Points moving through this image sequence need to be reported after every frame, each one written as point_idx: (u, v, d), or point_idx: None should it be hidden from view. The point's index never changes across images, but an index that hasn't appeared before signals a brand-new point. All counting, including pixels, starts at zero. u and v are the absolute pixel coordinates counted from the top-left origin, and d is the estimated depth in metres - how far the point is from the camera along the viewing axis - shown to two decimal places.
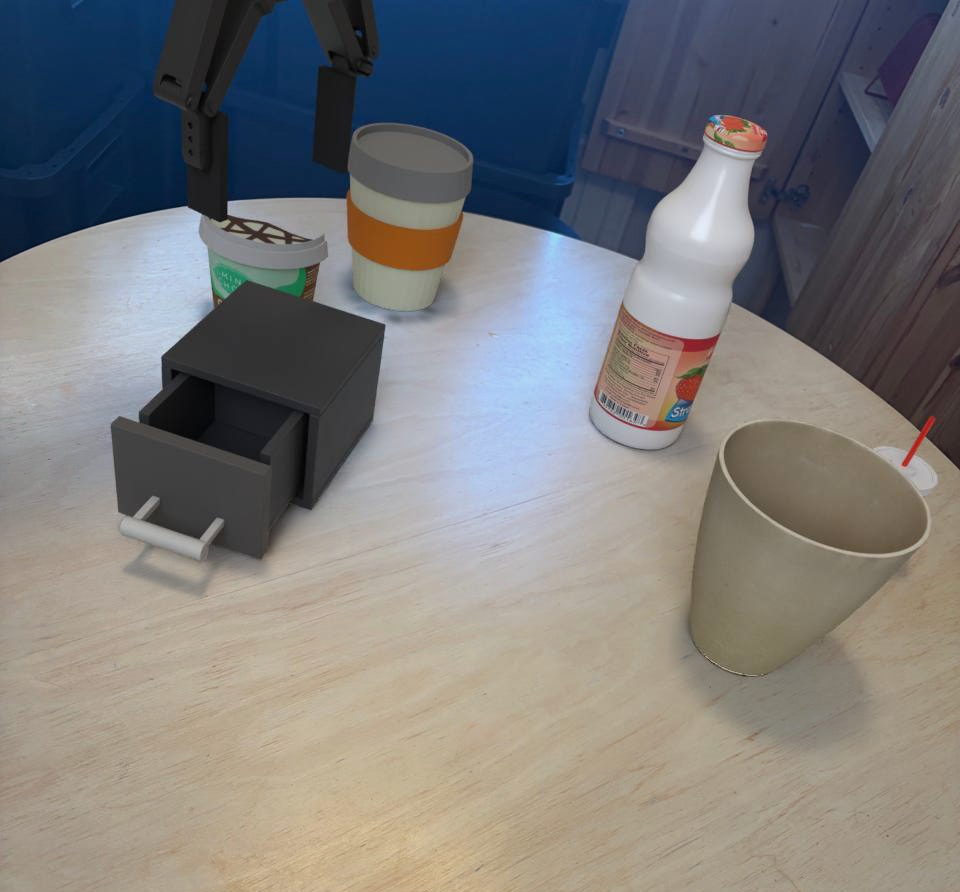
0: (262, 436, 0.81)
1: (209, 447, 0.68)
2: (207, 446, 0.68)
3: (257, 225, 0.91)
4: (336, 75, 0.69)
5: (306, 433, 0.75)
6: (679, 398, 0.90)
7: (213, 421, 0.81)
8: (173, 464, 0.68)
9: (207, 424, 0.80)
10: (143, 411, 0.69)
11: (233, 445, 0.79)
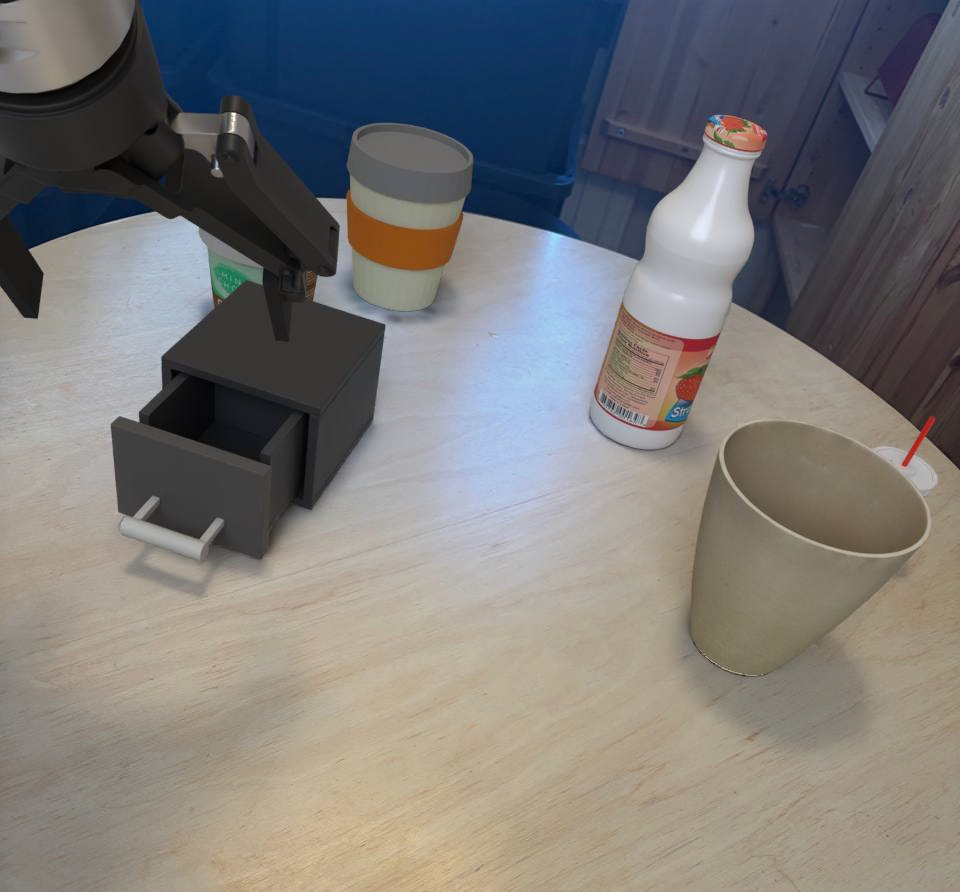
0: (262, 436, 0.81)
1: (209, 447, 0.68)
2: (207, 446, 0.68)
3: None
4: None
5: (306, 433, 0.75)
6: (679, 398, 0.90)
7: (213, 421, 0.81)
8: (173, 464, 0.68)
9: (207, 424, 0.80)
10: (143, 411, 0.69)
11: (233, 445, 0.79)
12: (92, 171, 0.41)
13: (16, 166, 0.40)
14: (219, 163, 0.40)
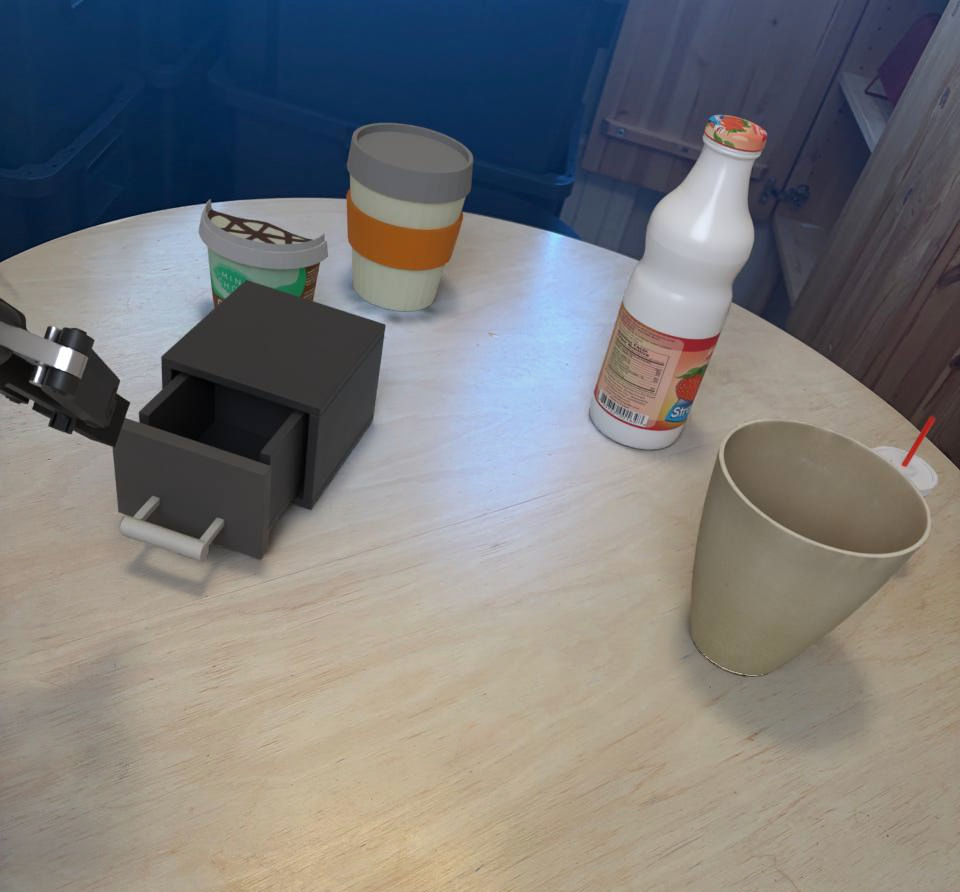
0: (262, 436, 0.81)
1: (209, 447, 0.68)
2: (207, 446, 0.68)
3: (257, 225, 0.91)
4: None
5: (306, 433, 0.75)
6: (679, 398, 0.90)
7: (213, 421, 0.81)
8: (173, 464, 0.68)
9: (207, 424, 0.80)
10: (143, 411, 0.69)
11: (233, 445, 0.79)
12: None
13: None
14: (44, 386, 0.39)
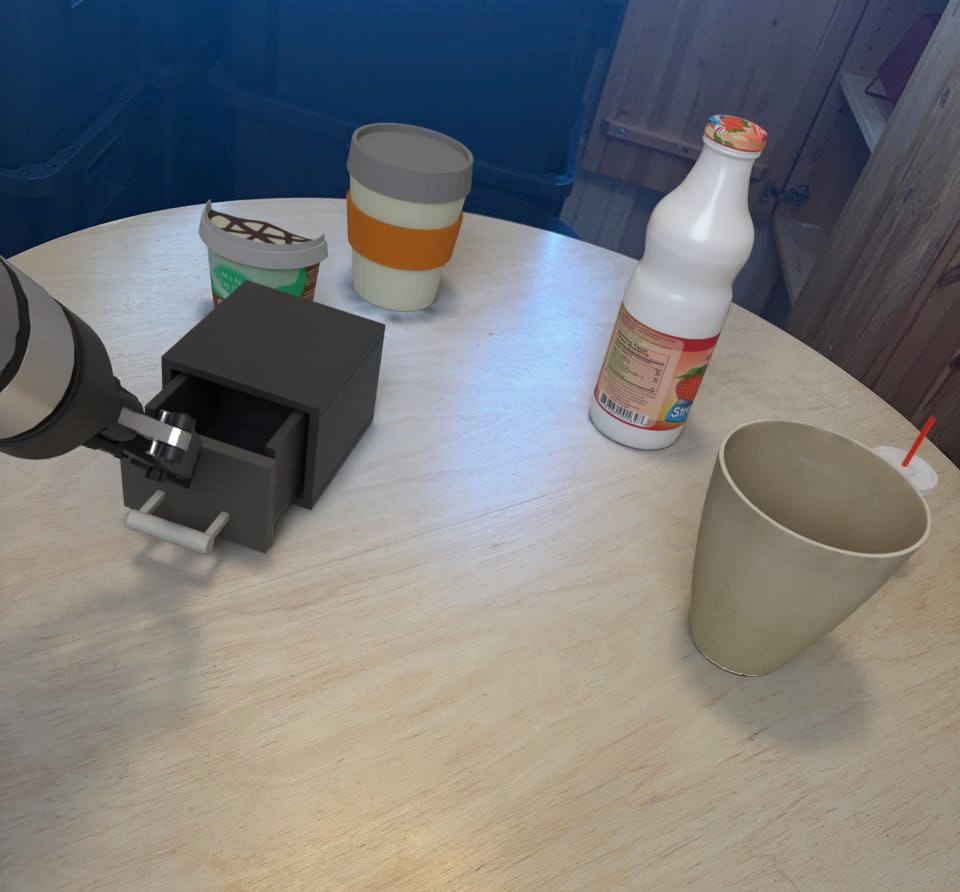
0: (266, 431, 0.81)
1: (214, 441, 0.68)
2: (212, 440, 0.68)
3: (257, 225, 0.91)
4: None
5: None
6: (679, 398, 0.90)
7: (217, 416, 0.81)
8: None
9: (212, 419, 0.80)
10: (149, 405, 0.70)
11: (237, 440, 0.80)
12: None
13: None
14: (158, 456, 0.51)
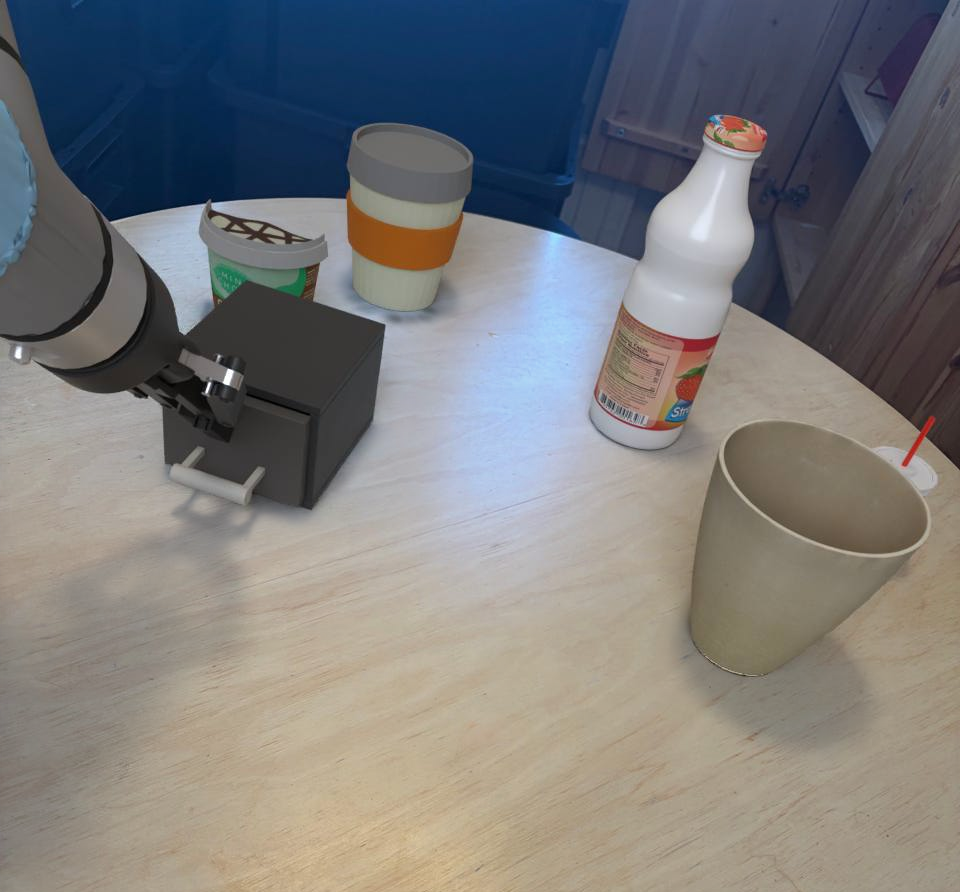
0: None
1: (252, 399, 0.73)
2: (251, 398, 0.73)
3: (257, 225, 0.91)
4: None
5: None
6: (679, 398, 0.90)
7: None
8: None
9: None
10: None
11: None
12: None
13: None
14: (213, 396, 0.56)
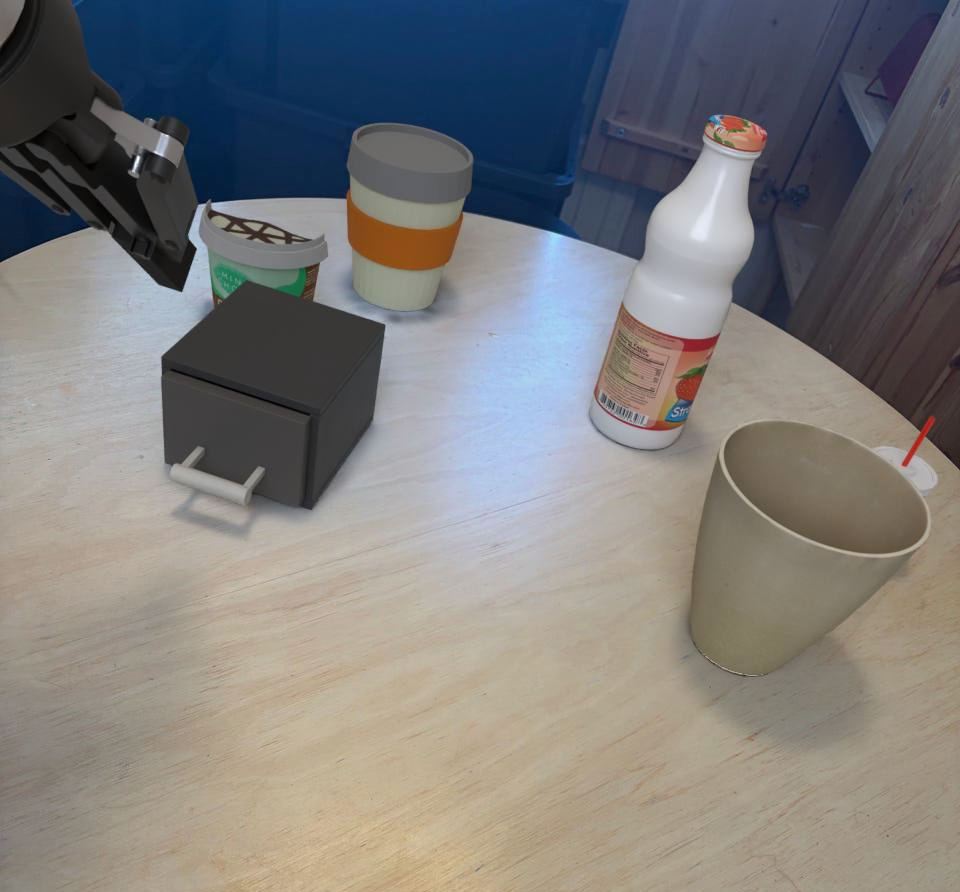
0: None
1: (252, 399, 0.73)
2: (251, 398, 0.73)
3: (257, 225, 0.91)
4: None
5: None
6: (679, 398, 0.90)
7: None
8: (219, 415, 0.73)
9: None
10: None
11: None
12: None
13: None
14: (143, 174, 0.41)
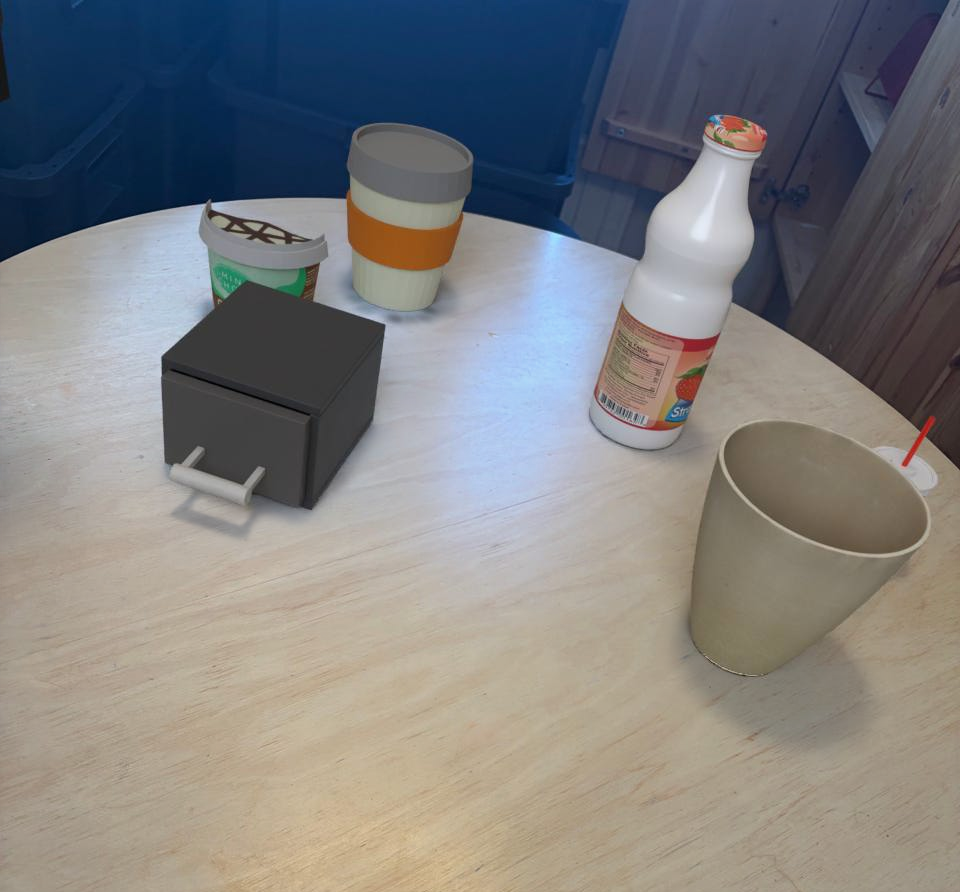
0: None
1: (252, 399, 0.73)
2: (251, 398, 0.73)
3: (257, 225, 0.91)
4: None
5: None
6: (679, 398, 0.90)
7: None
8: (219, 415, 0.73)
9: None
10: None
11: None
12: None
13: None
14: None
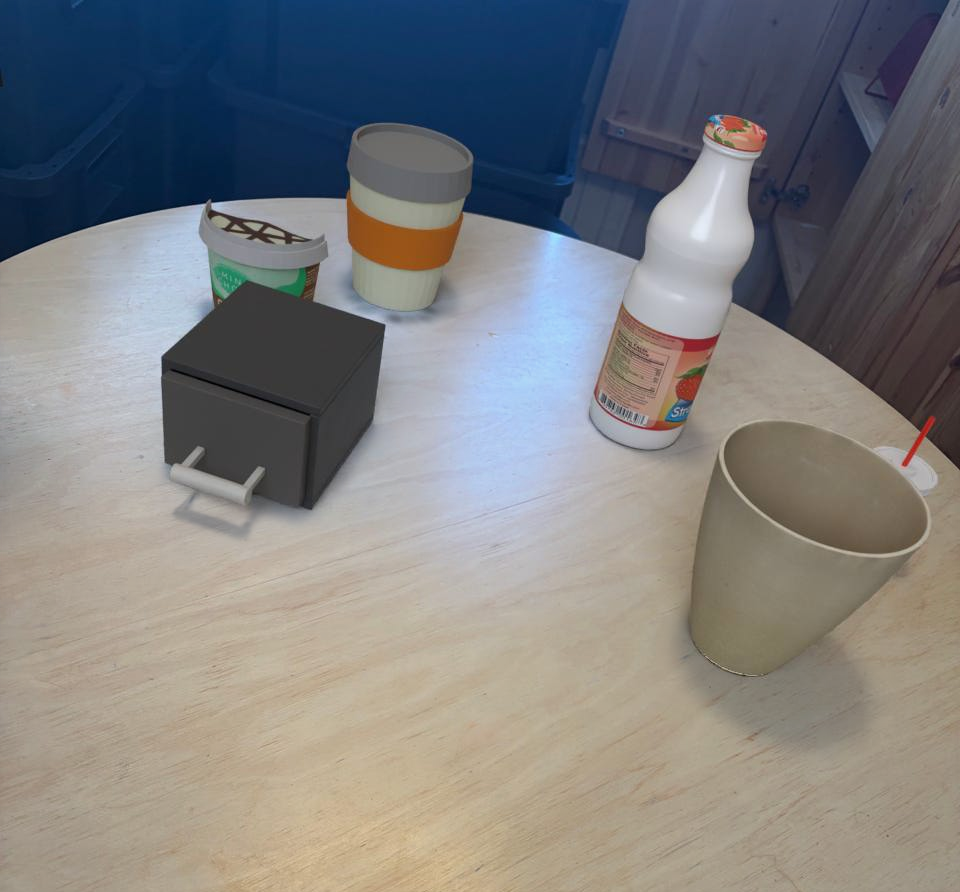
0: None
1: (252, 399, 0.73)
2: (251, 398, 0.73)
3: (257, 225, 0.91)
4: None
5: None
6: (679, 398, 0.90)
7: None
8: (219, 415, 0.73)
9: None
10: None
11: None
12: None
13: None
14: None
